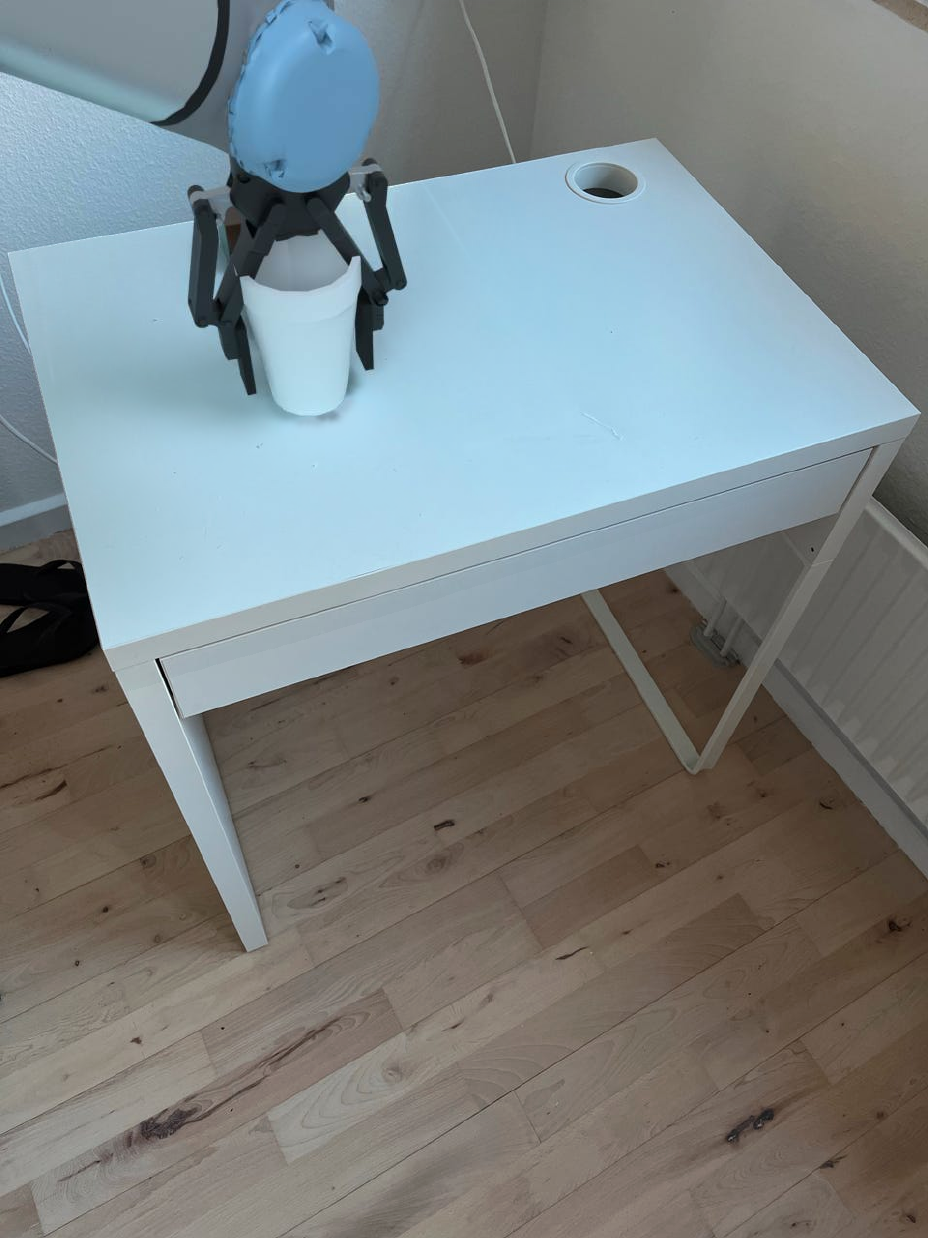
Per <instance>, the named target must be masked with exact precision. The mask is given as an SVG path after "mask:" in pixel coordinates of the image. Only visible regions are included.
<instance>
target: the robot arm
mask: <svg viewBox="0 0 928 1238" xmlns="http://www.w3.org/2000/svg"><path fill="white" fill-rule="evenodd" d="M0 73H2V74H6V75H8V76H11V77H15V78H18V79H20V80H23V81H26V82H29V83H31V84H35V85H37V86H41V87H43V88H46V89H49V90H53V91H55V92H59V93H62V94H64V95H68V96H70V97H73V98H76V99H79V100H82V101H84V102H88V103H91V104H94V105H97V106H99V107H102V108H105V109H108V110H112V111H114V112H117V113H120V114H124V115H126V116H129V117H131V118H135V119H137V120H141V121H142V122H146V123H149V124H151V125H153V126H155V127H157V128H159V129H162V130H165V131H168V132H171V133H174V134H177V135H180V136H182V137H186V138H189V139H191V140H194V141H197V142H200V143H203V144H206V145H209V146H211V147H213V148H216V149H218V150H220V151H222V152H223V153H225V154H227V155H228V157H229V164H230V170H229V175H228V177H227V180H226V183H225V185H223V186H219V187H216V188H212V189H207V190H205V189H204V187H203V186H202V185H199V184H192V185H190V186H189V187H188V189H187V192H186V193H187V194H186V195H187V198H188V201H189V205H190V208H191V212H192V214H193V226H192V227H193V229H192V240H191V241H192V242H191V252H190V268H189V278H188V292H187V306H188V308H189V311H190V314H191V316H192V320H193V323H194V325H195V326H196V327H197V328H199V329H206V328H207V327H209V326H214V327H216V328H217V331H218V337H219V342H220V346H221V350H222V352H223V354H224V357H225V358H226V359H227V361H233V360H237V365H238V371H239V375H240V377H241V381H242V383H243V386H244V389H245V392H246V394H247V396H253V395H257V394H258V392H257V391H258V390H257V384H256V380H255V373H254V366H253V360H252V354H251V348H250V342H249V335H248V330H247V327H246V323H245V321H244V319H243V316H242V314H241V313H242V311H243V309H244V307H245V306H244V300H243V294H242V288H241V281H240V277H244V276H249V277H251V278H252V279H253V280H255V278H256V275H257V273H258V270H259V268H260V266H261V263H262V261H263V258H264V257H265V256H268V254H269V252H270V250H271V248H272V245H273V243H274V241H275V240H276V242H277V241H283V240H288V239H290V238H292V237H295V236H313V235H318V231H319V230H321V229H322V231H323V232H324V233H325V235H326V236H327V238H328V239H329V240H330V242H331V243H332V244H333V245H334V246H335V248H336V249H337V251H338V252H339V253H340V255H341V256H342V258H343V259H344V260H345V262H346V263H347V265H348V266H349V265H350V263H351V260H352V257H356V256H360V258H361V287H360V290H359V293H358V296H357V305H356V314H355V323H354V339H355V340H354V341H355V352H356V354H357V355H358V358H359V360H360V362H361V365H362V367H363V369H364V371H365V372H367V371H372V370H374V369H375V354H374V353H375V352H374V332H376V331H377V332H378V331H381V330H383V328H384V325H385V307H386V305H388V303H389V300H390V299H389V296H388V293H390V292H391V291H394V290H395V291H402V290H404V289H405V288H406V287H407V286H408V279H407V276H406V272H405V269H404V265H403V262H402V258H401V255H400V254H401V253H400V250H399V246H398V244H397V240H396V237H395V233H394V230H393V226H392V222H391V220H390V215H389V211H388V208H387V199H388V190H389V180H388V179H387V177H386V176H385V175H386V174H385V173H384V171H383V169H382V168H381V167H380V165H379V163H378V162H377V160H376V158H373V157H369V158H366V159H364V160H363V162H362V163H361V165H359V166H357V165H356V166H354V164H355V163H356V162H357V161H358V159H359V157H360V156H361V155H362V154H363V151H364V150H365V148H366V142H367V139H368V138H369V137H370V136H371V133H372V128H373V126H374V124H375V123H376V121H377V117H378V111H379V106H380V96H381V91H380V90H381V87H380V86H381V85H380V74H379V68H378V64H377V61H376V58H375V55H374V53H373V51H372V48H371V46H370V45H369V43H368V41H367V38H366V37H365V36H364V35H363V33H361V31H360V30H359V29H358V28H357V27H355V26H354V24H352V23H351V22H350V21H348V20H346V19H345V18H344V17H343V16H341V15H340V14H338V13H337V12H335V0H0ZM350 188H352V189H353V191H354V193H355V195H356V197H357V198H358V200H360V201H362V204H363V207H364V209H365V213H366V217H367V219H368V223H369V227H370V230H371V233H372V237H373V240H374V243H375V247H376V249H377V254H378V257H379V260H380V263H381V266H382V267H380V268H378V269H376V270H375V269H374V268H373V267H372V265H371V264H370V263H369V261H368V260H367V258H366V256H365V255H364V254H363V252H362V251H361V249H360V248H359V247H358V245H357V243H355V244H354V242H355V241H354V242H353V240H354V239H353V237H352V235H350V233H349V231H348V230H347V229H346V227H345V226H344V224H343V223H342V221H341V220H340V218H339V217H338V214H336V211H337V209H338V207H339V206H340V204H341V202H342V201H343V199H344V198H345V196H346V194H347V193H348V191H349V189H350ZM231 206H234V207H235V208H236V209H237V210H238V211H239V212H240V213H241V214H242V215H243V216H244V217H243V219H242V222H241V232H240V235H239V238H238V240H237V243H236V245H235V248H234V251H233V253H232V256H231V258H230V261H229V263H228V262H227V266H226V269H225V271H224V274H223V276H222V279H221V281H220V284H219V286H218V289H217V291H216V294H215V285H216V275H217V266H218V265H217V264H218V255H219V244H220V237H219V231H218V227H220V226H222V225H223V222H224V220H225V214H226V211H227V209H228V208H229V207H231ZM234 268H235V269H234ZM235 270H236V273H237V275H236V273H235ZM214 294H215V296H214Z"/></svg>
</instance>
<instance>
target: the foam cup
mask: <svg viewBox="0 0 928 1238" xmlns="http://www.w3.org/2000/svg"><path fill="white" fill-rule="evenodd" d="M353 242H354V244H356V242H355V240H354V239H353ZM231 256H232V255H231ZM234 269H235V268H234ZM235 273H236V270H235ZM236 275H237V273H236ZM240 281H241V288H242V294H243V300H244V306H243V307H244V310H245V312H246V315H247V318H248V319H247V320H248V321H249V325H250V328H251V331H252V334H253V337H254V341H255V343H256V344H255V345H256V347H257V350H258V354H259V356H260V359H261V363H262V366H263V369H264V372H265V375H266V378H267V382H268V384H269V388H270V392H271V395H272V397H273V400H274V402H275V403H276V404H277V405H278V406H279V407H280V408H281V409H283V411H285V412H287V413H290V414H293V415H296V416H299V417H318V416H320V415H324V414H327V413H330V412H333V411H334V410H335V409H336V408H338V406H340V404H342V403H343V402H344V400H345V396H346V394H347V390H348V389H347V387H348V383H349V374H350V367H351V358H352V357H351V356H352V349H353V339H354V333H355V314H356V305H357V296H358V293H359V290H360V287H361V258H360V256H356V257H352V260H351V263H350V265H349V266H348V265H347V263H346V262H345V260H344V259H343V258H342V256H341V255H340V253H339V252H338V251H337V249H336V248H335V246H334V245H333V244H332V243H331V242H330V240H329V239H328V238H327V236H326V235H325V233H324V232H323V231H322V229H321V230H319V231H318V235H313V236H295V237H292V238H290V239H288V240H283V241H277V242H276V240H275V241H274V243H273V245H272V248H271V250H270V252H269V254H268V256H265V257H264V258H263V261H262V263H261V266H260V268H259V270H258V273H257V275H256V278H255V280H253V279H252V278H251V277H249V276H244V277H240Z"/></svg>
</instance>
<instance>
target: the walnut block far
mask: <svg viewBox="0 0 928 1238" xmlns="http://www.w3.org/2000/svg"><path fill="white" fill-rule="evenodd" d="M243 217H244V216H243V215H242V214H241V213H240V212H239V211H238V210H237V209H236V208H235V207H234V206H231V207H229V208H228V209H227V211H226V214H225V220H224V222H223V225H222V226H220V227H218V226H217V228H218V233H219V244H220V245H221V248H222V251H223V253H224V256H225V258H226V261H227V264H228V263H229V261H230V258H231V255H232V253H233V251H234V248H235V245H236V243H237V240H238V238H239V235H240V232H241V222H242V219H243Z"/></svg>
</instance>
